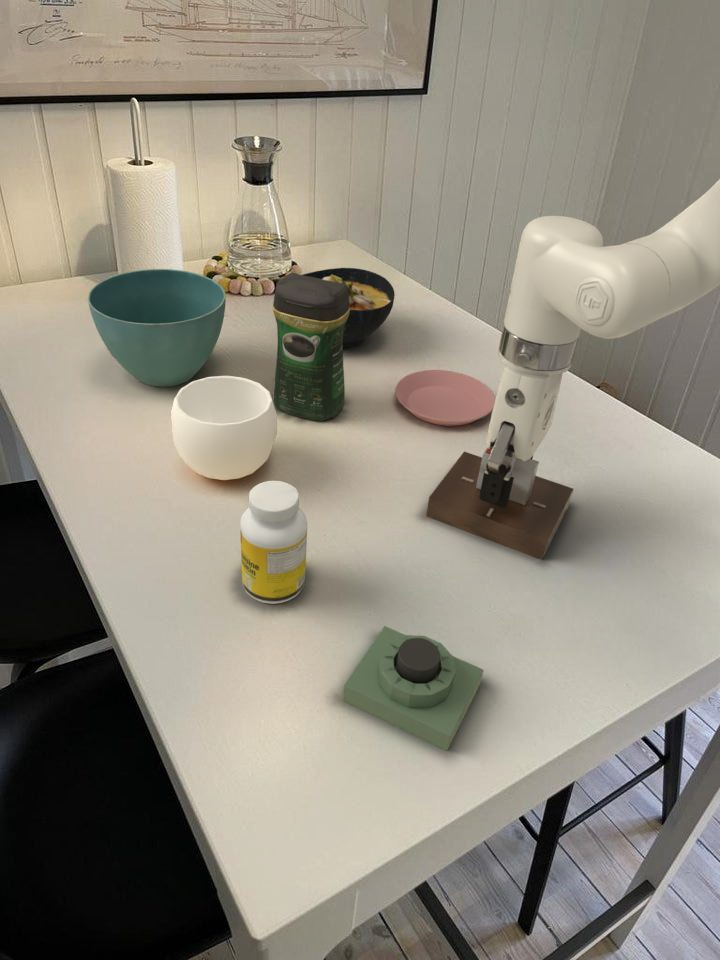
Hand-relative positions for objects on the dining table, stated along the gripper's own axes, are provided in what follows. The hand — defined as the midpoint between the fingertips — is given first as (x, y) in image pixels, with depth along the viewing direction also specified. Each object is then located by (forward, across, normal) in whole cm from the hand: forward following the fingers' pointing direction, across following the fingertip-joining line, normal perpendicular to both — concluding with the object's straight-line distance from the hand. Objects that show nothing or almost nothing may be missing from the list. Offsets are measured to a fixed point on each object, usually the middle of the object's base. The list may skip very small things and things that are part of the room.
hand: (505, 482), depth 87 cm
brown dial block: (+4, 0, 0) cm, 4 cm away
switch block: (+4, -29, -2) cm, 29 cm away
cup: (+5, -10, +32) cm, 34 cm away
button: (+1, -29, -2) cm, 29 cm away
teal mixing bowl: (+5, +4, +53) cm, 53 cm away
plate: (+5, +19, +15) cm, 25 cm away
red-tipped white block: (+1, 0, 0) cm, 1 cm away
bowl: (+5, +29, +38) cm, 48 cm away
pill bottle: (+5, -24, +16) cm, 29 cm away
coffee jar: (+5, +8, +31) cm, 32 cm away
